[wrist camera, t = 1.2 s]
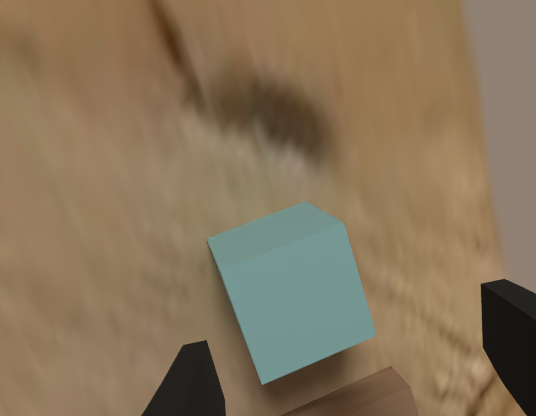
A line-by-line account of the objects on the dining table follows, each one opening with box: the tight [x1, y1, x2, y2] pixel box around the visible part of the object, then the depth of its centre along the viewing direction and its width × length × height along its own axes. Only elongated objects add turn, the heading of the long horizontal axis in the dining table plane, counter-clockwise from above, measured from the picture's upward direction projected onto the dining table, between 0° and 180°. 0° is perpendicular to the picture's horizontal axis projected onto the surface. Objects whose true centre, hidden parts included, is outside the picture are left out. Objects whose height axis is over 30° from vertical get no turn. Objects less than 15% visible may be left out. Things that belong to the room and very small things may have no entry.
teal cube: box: [206, 201, 377, 385], centre depth 21 cm, size 5×5×5 cm
